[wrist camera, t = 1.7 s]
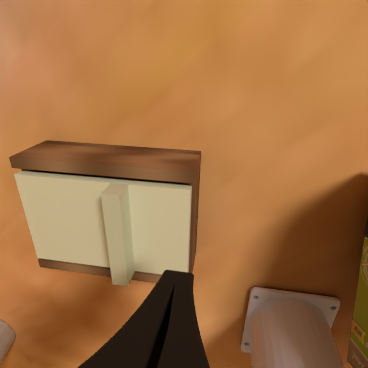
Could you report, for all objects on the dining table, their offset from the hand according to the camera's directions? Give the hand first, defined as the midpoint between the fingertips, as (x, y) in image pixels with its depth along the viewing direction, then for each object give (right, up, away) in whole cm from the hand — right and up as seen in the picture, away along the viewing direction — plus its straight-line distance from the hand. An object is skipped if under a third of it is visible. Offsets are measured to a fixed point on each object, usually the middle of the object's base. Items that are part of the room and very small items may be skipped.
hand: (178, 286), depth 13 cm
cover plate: (-6, +2, +7) cm, 9 cm away
